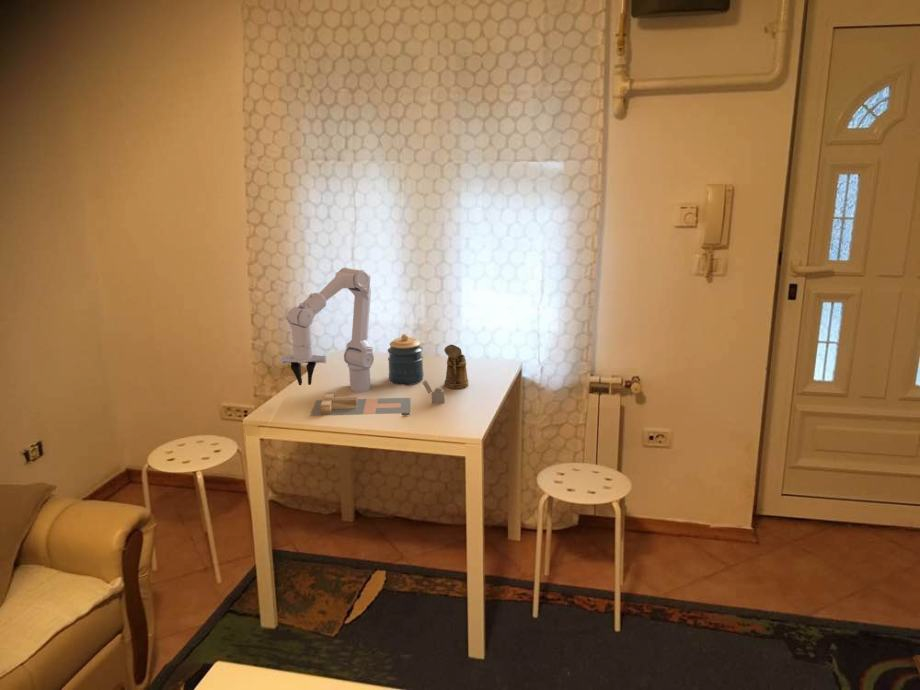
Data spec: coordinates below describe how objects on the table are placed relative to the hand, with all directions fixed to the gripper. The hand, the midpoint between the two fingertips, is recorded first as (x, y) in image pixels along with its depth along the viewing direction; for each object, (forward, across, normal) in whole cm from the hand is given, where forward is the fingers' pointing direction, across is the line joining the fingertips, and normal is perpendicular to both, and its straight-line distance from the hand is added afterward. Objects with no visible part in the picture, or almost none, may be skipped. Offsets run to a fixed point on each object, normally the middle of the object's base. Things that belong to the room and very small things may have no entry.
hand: (305, 384), depth 227 cm
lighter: (+10, +42, +4) cm, 43 cm away
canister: (+10, +32, +29) cm, 44 cm away
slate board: (+9, +18, 0) cm, 20 cm away
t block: (+8, +11, 0) cm, 14 cm away
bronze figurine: (+10, +50, +19) cm, 54 cm away
